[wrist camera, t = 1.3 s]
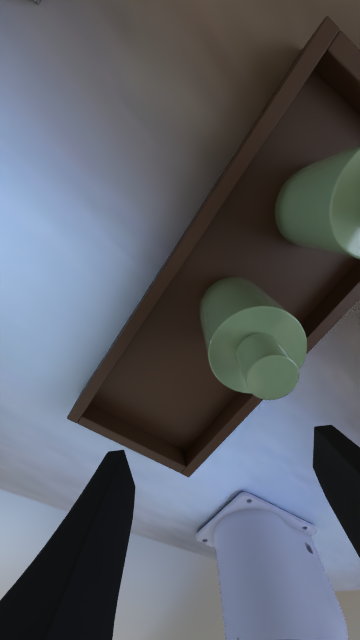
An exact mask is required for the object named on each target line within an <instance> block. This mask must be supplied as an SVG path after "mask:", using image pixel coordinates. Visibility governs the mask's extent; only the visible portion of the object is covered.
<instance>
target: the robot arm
mask: <svg viewBox="0 0 360 640" xmlns="http://www.w3.org/2000/svg"><path fill="white" fill-rule="evenodd" d="M313 469H314V471H315V473H316V476H317V478H318V480H319V483H320V485H321V487H322V489H323V492H324V494H325V496H326V498H327V500H328V502H329V504H330V506H331V507H332V509H333V511H334V513H335V515H336V516H337V518H338V520H339V522H340V524H341V525H342V527H343V529H344V531H345V532H346V534H347V536H348V538H349V540H350V541H351V543H352V545H353V547H354V548H355V550H356V552H357V554H358V556H359V557H360V447H358V446H357V445H356V444H355V443H353V442H352V441H351V440H350V439H348V438H347V437H346V436H345V435H344V434H342V433H341V432H340V431H339V430H337V429H336V428H335V427H333V426H332V425H326V426H317V427H314V451H313ZM134 498H135V484H134V481H133V478H132V474H131V471H130V468H129V465H128V461H127V458H126V455H125V452H124V450H118V451H110V452H108V453H107V454H106V456H105V457H104V459H103V460H102V462H101V464H100V465H99V467H98V469H97V470H96V472H95V473H94V475H93V476H92V478H91V480H90V481H89V483H88V484H87V486H86V487H85V489H84V491H83V492H82V494H81V495H80V497H79V498H78V500H77V501H76V503H75V504H74V505H73V507H72V508H71V510H70V511H69V513H68V515H67V516H66V517H65V519H64V520H63V521H62V523H61V524H60V526H59V527H58V528H57V530H56V531H55V533H54V534H53V535H52V537H51V538H50V539H49V541H48V542H47V543H46V545H45V546H44V548H43V549H42V550H41V551H40V553H39V554H38V555H37V557H36V558H35V559H34V561H33V562H32V563H31V564H30V565H29V567H28V568H27V569H26V570H25V572H24V573H23V574H22V575H21V577H20V578H19V579H18V580H17V581H16V583H15V584H14V585H13V586H12V588H11V589H10V590H9V591H8V592H7V593H6V594H5V596H4V597H3V598H2V599H1V600H0V640H112V637H113V628H114V620H115V613H116V607H117V600H118V595H119V589H120V583H121V578H122V573H123V567H124V563H125V557H126V552H127V546H128V541H129V536H130V531H131V525H132V519H133V510H134ZM316 531H317V530H316V528H315V526H314V525H312V524H310V523H308V522H306V521H304V520H302V519H300V518H298V517H296V516H294V515H292V514H290V513H288V512H286V511H284V510H282V509H280V508H278V507H276V506H274V505H272V504H270V503H268V502H266V501H264V500H262V499H260V498H258V497H256V496H254V495H252V494H250V493H248V492H241V493H240V494H239V495H238V496H237V497H236V498H234V499H233V500H232V501H231V502H230V503H229V504H228V505H227V506H226V507H225V508H224V509H222V510H221V511H220V512H219V513H218V514H217V515H216V516H215V517H214V518H213V519H212V520H211V521H209V522H208V523H207V524H206V525H205V526H204V527H203V528H202V529H201V530H200V531H199V532H198V533H197V534H196V540H197V541H199V542H201V543H203V544H206V545H208V546H210V547H213V548H215V549H216V558H217V567H218V576H219V585H220V594H221V603H222V612H223V621H224V630H225V639H226V640H348V632H347V627H346V622H345V619H344V616H343V613H342V610H341V608H340V605H339V603H338V600H337V598H336V596H335V593H334V591H333V588H332V586H331V584H330V581H329V579H328V576H327V574H326V572H325V569H324V567H323V564H322V562H321V559H320V557H319V555H318V552H317V550H316V547H315V545H314V543H313V540H312V538H311V536H312V535H314V534H315V533H316Z"/></svg>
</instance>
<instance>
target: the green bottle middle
mask: <svg viewBox="0 0 360 640" xmlns="http://www.w3.org/2000/svg"><path fill="white" fill-rule="evenodd" d="M199 317H200V321H201V326H202V331H203V336H204V340H205V345H206V350H207V355H208V359H209V363H210V367H211V369H212V371H213V373H214V375H215V376H216V377H217V379H218V380H219V381H220V382H221V383H223V384H224V385H225V386H227V387H229V388H231V389H233V390H235V391H238V392H242V393H252V394H253V395H254V396H256V397H258V398H260V399H264V400H275V399H279V398H282V397H284V396H286V395H287V394H289V393H290V392H291V391H292V390H293V389H294V388H295V386H296V385H297V383H298V380H299V369H300V367H301V366H302V364H303V362H304V359H305V356H306V352H307V338H306V334H305V331H304V329H303V327H302V325H301V324H300V322H299V321H298V320H297V319H296V318H295V317H294V316H293V315H292V314H290V313H289V312H288V311H287V310H286V309H284V308H283V307H282V306H281V305H280V304H279V303H277V302H276V301H275V300H274V299H273V298H271V297H270V296H269V295H268V294H267V293H266V292H264V291H263V290H262V289H261V288H260V287H258V286H257V285H256V284H255V283H254V282H252V281H250V280H248V279H245V278H242V277H228V278H224V279H221V280H219V281H217V282H215V283H214V284H213V285H211V286H210V287H209V288H208V289H207V290H206V292H205V293H204V295H203V296H202V299H201V301H200V305H199Z"/></svg>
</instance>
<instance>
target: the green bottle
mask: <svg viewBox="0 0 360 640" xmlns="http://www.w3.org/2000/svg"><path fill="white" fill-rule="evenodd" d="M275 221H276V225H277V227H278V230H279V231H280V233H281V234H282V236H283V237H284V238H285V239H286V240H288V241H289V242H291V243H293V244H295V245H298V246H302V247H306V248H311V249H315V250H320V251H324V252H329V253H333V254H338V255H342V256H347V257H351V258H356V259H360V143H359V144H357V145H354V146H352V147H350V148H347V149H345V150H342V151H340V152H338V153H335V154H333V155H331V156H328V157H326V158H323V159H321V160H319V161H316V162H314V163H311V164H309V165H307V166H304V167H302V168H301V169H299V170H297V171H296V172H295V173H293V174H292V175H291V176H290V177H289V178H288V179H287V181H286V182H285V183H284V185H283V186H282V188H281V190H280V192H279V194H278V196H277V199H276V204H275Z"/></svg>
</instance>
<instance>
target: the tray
mask: <svg viewBox="0 0 360 640" xmlns="http://www.w3.org/2000/svg"><path fill="white" fill-rule="evenodd" d="M339 30H340V29H339V28H338V27H337V25H336V24H335V23H334V22H333V21H332V20H331V19H330V18H329V17H328V16H327V17H326V18H325V19H324V20H323V22H322V23H321V25H320V26H319V27H318V29H317V30H316V31H315V33H314V34H313V36H312V37H311V38H310V40H309V41H308V42H307V44H306V45H305V47H304V48H303V49H302V51H301V52H300V54H299V56H298V57H297V59H296V60H295V62H294V63H293V65H292V66H291V68H290V70H289V71H288V73H287V74H286V76H285V77H284V79H283V80H282V82H281V84H280V85H279V87H278V88H277V90H276V91H275V93H274V94H273V96H272V97H271V99H270V101H269V102H268V104H267V105H266V107H265V108H264V110H263V111H262V113H261V115H260V116H259V118H258V119H257V121H256V122H255V124H254V125H253V127H252V129H251V130H250V132H249V133H248V135H247V136H246V138H245V139H244V141H243V143H242V144H241V146H240V147H239V149H238V150H237V152H236V153H235V155H234V157H233V158H232V160H231V161H230V163H229V164H228V166H227V167H226V169H225V170H224V172H223V174H222V175H221V177H220V178H219V180H218V181H217V183H216V184H215V186H214V188H213V189H212V191H211V192H210V194H209V195H208V197H207V198H206V200H205V202H204V203H203V205H202V206H201V208H200V209H199V211H198V212H197V214H196V216H195V217H194V219H193V220H192V222H191V223H190V225H189V226H188V228H187V230H186V231H185V233H184V234H183V236H182V237H181V239H180V240H179V242H178V244H177V245H176V247H175V248H174V250H173V251H172V253H171V254H170V256H169V257H168V259H167V261H166V262H165V264H164V265H163V267H162V268H161V270H160V271H159V273H158V275H157V276H156V278H155V279H154V281H153V282H152V284H151V285H150V287H149V289H148V290H147V292H146V293H145V295H144V296H143V298H142V299H141V301H140V303H139V304H138V306H137V307H136V309H135V310H134V312H133V313H132V315H131V317H130V318H129V320H128V321H127V323H126V324H125V326H124V327H123V329H122V330H121V332H120V334H119V335H118V337H117V338H116V340H115V341H114V343H113V344H112V346H111V348H110V349H109V351H108V352H107V354H106V355H105V357H104V358H103V360H102V362H101V363H100V365H99V366H98V368H97V369H96V371H95V372H94V374H93V376H92V377H91V379H90V380H89V382H88V383H87V385H86V386H85V388H84V390H83V391H82V393H81V394H80V396H79V397H78V399H77V401H76V402H75V404H74V406H73V408H72V410H71V411H70V413H69V415H68V417H67V419H69V420H71V421H73V422H75V423H78V424H80V425H82V426H84V427H86V428H88V429H90V430H92V431H94V432H96V433H98V434H100V435H102V436H104V437H107V438H109V439H111V440H113V441H115V442H117V443H119V444H121V445H123V446H125V447H127V448H129V449H131V450H134V451H136V452H138V453H140V454H142V455H144V456H146V457H148V458H150V459H152V460H154V461H156V462H158V463H161V464H163V465H165V466H167V467H169V468H171V469H173V470H175V471H177V472H179V473H181V474H183V475H185V476H187V477H190V476H191V475H192V474H193V472H194V471H195V470H196V469H197V468H198V467H199V466H200V465H201V464H202V463H203V462H204V461H205V460H206V459H207V458H208V457H209V456H210V455H211V454H212V453H213V452H214V450H215V449H216V448H217V447H218V446H219V445H220V444H221V443H222V442H223V441H224V440H225V439H226V438H227V437H228V436H229V435H230V434H231V433H232V432H233V431H234V430H235V428H236V427H237V426H238V425H239V424H240V423H241V422H242V421H243V420H244V419H245V418H246V417H247V416H248V415H249V414H250V413H251V412H252V411H253V410H254V409H255V407H256V406H257V405H258V404H259V403H260V402H261V401H262V400H263V399H260V398H258V397H256V396H254V395H253V394H252V393H242V392H238V391H235V390H233V389H231V388H229V387H227V386H225V385H224V384H223V383H221V382H220V381H219V380H218V379H217V377H216V376H215V375H214V373H213V371H212V369H211V367H210V363H209V359H208V355H207V350H206V345H205V340H204V336H203V331H202V326H201V321H200V317H199V305H200V301H201V299H202V296H203V295H204V293H205V292H206V290H207V289H208V288H209V287H210V286H211V285H213V284H214V283H215V282H217V281H219V280H221V279H224V278H228V277H242V278H245V279H248V280H250V281H252V282H254V283H255V284H256V285H257V286H258V287H260V288H261V289H262V290H263V291H264V292H266V293H267V294H268V295H269V296H270V297H271V298H273V299H274V300H275V301H276V302H277V303H279V304H280V305H281V306H282V307H283V308H284V309H286V310H287V311H288V312H289V313H290V314H292V315H293V316H294V317H295V318H296V319H297V320H298V321H299V322H300V324H301V325H302V327H303V329H304V331H305V334H306V338H307V352H306V354H307V353H308V352H309V351H310V350H311V349H312V348H313V347H314V346H315V345H316V344H317V342H318V341H319V340H320V339H321V338H322V337H323V336H324V335H325V334H326V333H327V332H328V331H329V330H330V329H331V328H332V327H333V326H334V325H335V324H336V323H337V321H338V320H339V319H340V318H341V317H342V316H343V315H344V314H345V313H346V312H347V311H348V310H349V309H350V308H351V307H352V306H353V305H354V304H355V303H356V302H357V301H358V299H359V298H360V259H356V258H351V257H347V256H342V255H338V254H333V253H329V252H324V251H320V250H315V249H311V248H306V247H302V246H298V245H295V244H293V243H291V242H289V241H288V240H286V239H285V238H284V237H283V236H282V234H281V233H280V231H279V230H278V227H277V225H276V221H275V204H276V199H277V196H278V194H279V192H280V190H281V188H282V186H283V185H284V183H285V182H286V181H287V179H288V178H289V177H290V176H291V175H292V174H293V173H295V172H296V171H297V170H299V169H301V168H302V167H304V166H307V165H309V164H311V163H314V162H316V161H319V160H321V159H323V158H326V157H328V156H331V155H333V154H335V153H338V152H340V151H342V150H345V149H347V148H350V147H352V146H354V145H357V144H359V143H360V50H359V49H358V48H357V47H356V46H355V45H354V44H353V43H352V42H351V41H350V40H349V39H348V37H347V36H346V35H345V34H344V33H343V32H342V31H339Z"/></svg>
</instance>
